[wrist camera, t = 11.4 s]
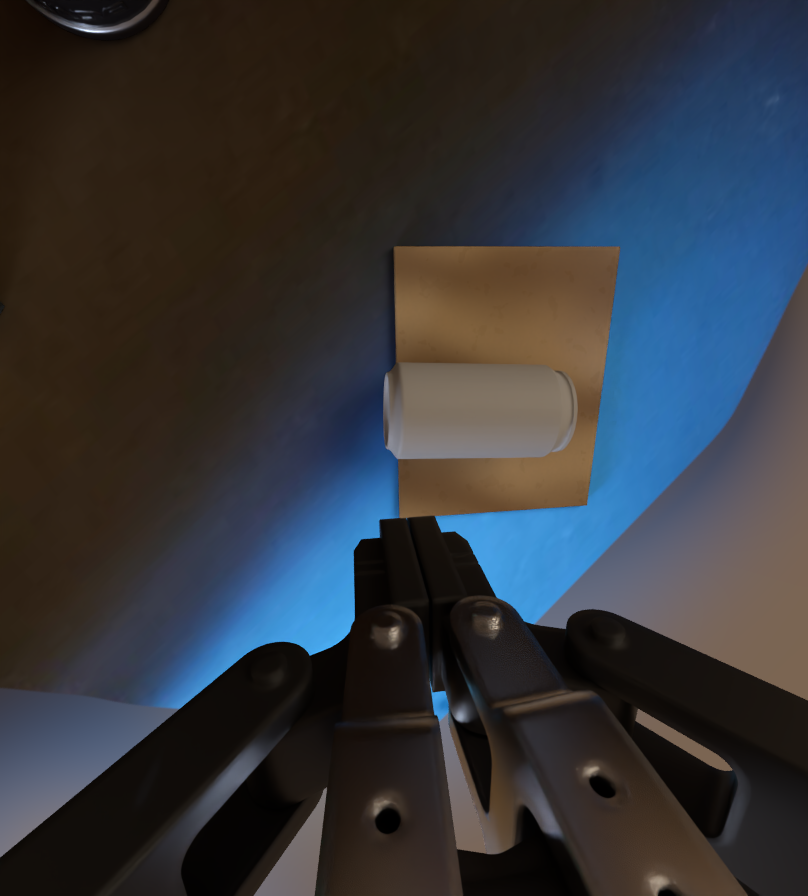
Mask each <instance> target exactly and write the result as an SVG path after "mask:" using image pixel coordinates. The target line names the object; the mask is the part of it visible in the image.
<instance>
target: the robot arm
mask: <svg viewBox="0 0 808 896" xmlns="http://www.w3.org/2000/svg"><path fill="white" fill-rule="evenodd" d="M26 1H27V2H28V3H29V4H30V5H31V6H32V7H33V8H34V9H35V10H37V11H38V12H39V13H40V14H41V15H43V16H44V17H45V18H47V19H48V20H50V21H51V22H53V23H54V24H56V25H57V26H59V27H61V28H63V29H65V30H67V31H69V32H71V33H74V34H76V35H79V36H82V37H86V38H91V39H97V40H117V39H123V38H127V37H130V36H132V35H135V34H137V33H139V32H141V31H142V30H144V29H145V28H147V27H148V26H149V25H151V24H152V23H153V22H154V21H155V20H156V19H157V18H158V16H159V15H160V14H161V13H162V11H163V10H164V8H165V7H166V5H167V3H168V1H169V0H26ZM379 524H380V538H372V539H361V541H360V542H359V544H358V545H357V547H356V548H355V550H354V589H355V621H354V622H353V624H352V626H351V630H350V632H349V633H348V635H347V636H346V637H345V638H344V639H343V640H342V641H340V642H339V643H338V644H336V645H334V646H333V647H331V648H328V649H326V650H324V651H321V652H318V653H316V654H313V655H311V656H309V654H308V652H307V651H306V650H305V649H304V648H302V647H301V646H299V645H297V644H294V643H290V642H274V643H269V644H266V645H263V646H260V647H258V648H256V649H254V650H252V651H250V652H249V653H247V654H246V655H244V656H243V657H242V658H241V659H239V660H238V661H237V662H236V663H235V664H233V665H232V666H231V667H230V668H229V669H227V670H226V671H225V672H224V673H223V674H221V675H220V676H219V677H218V678H217V679H215V680H214V681H213V682H212V683H210V684H209V685H208V686H207V687H206V688H204V689H203V690H202V691H201V692H200V693H198V694H197V695H196V696H195V697H194V698H192V699H191V700H190V701H189V702H188V703H186V704H185V705H184V706H183V707H182V708H180V709H179V710H178V711H177V712H176V713H174V714H173V715H172V716H171V717H170V718H168V719H167V720H166V721H165V722H164V723H162V724H161V725H160V726H159V727H157V728H156V729H155V730H154V731H153V732H151V733H150V734H149V735H148V736H147V737H145V738H144V739H143V740H142V741H141V742H139V743H138V744H137V745H136V746H134V747H133V748H132V749H131V750H130V751H128V752H127V753H126V754H125V755H124V756H122V757H121V758H120V759H119V760H118V761H116V762H115V763H114V764H113V765H111V766H110V767H109V768H108V769H107V770H105V771H104V772H103V773H102V774H101V775H99V776H98V777H97V778H96V779H95V780H93V781H92V782H91V783H90V784H89V785H87V786H86V787H85V788H84V789H82V790H81V791H80V792H79V793H78V794H76V795H75V796H74V797H73V798H72V799H70V800H69V801H68V802H67V803H66V804H65V805H63V806H62V807H61V808H60V809H58V810H57V811H56V812H55V813H54V814H52V815H51V816H50V817H49V818H47V819H46V820H45V821H44V822H43V823H42V824H40V825H39V826H38V827H37V828H35V829H34V830H33V831H32V832H31V833H29V834H28V835H27V836H26V837H25V838H23V839H22V840H21V841H20V842H18V843H17V844H16V845H15V846H14V847H12V848H11V849H10V850H9V851H8V852H6V853H5V854H4V855H3V856H2V857H0V896H254V894H255V893H256V891H257V890H258V888H259V887H260V886H261V884H262V883H263V881H264V880H265V878H266V877H267V876H268V874H269V873H270V871H271V870H272V868H273V867H274V866H275V864H276V863H277V861H278V860H279V858H280V857H281V856H282V854H283V853H284V851H285V850H286V848H287V847H288V846H289V844H290V843H291V841H292V840H293V839H294V837H295V836H296V834H297V833H298V831H299V830H300V828H301V827H302V826H303V824H304V823H305V821H306V820H307V819H308V817H309V816H310V814H311V813H312V811H313V810H314V808H315V807H316V805H317V804H318V802H319V800H320V798H321V796H322V793H323V790H324V789H325V788H326V787H327V794H326V804H325V812H324V821H323V829H322V838H321V846H320V855H319V864H318V872H317V881H316V890H315V896H808V701H807V700H805V699H803V698H801V697H798V696H796V695H794V694H792V693H790V692H788V691H785V690H783V689H781V688H779V687H776V686H774V685H772V684H770V683H768V682H765V681H763V680H761V679H758V678H757V677H754V676H752V675H750V674H748V673H745V672H743V671H741V670H739V669H736V668H734V667H732V666H730V665H728V664H726V663H723V662H721V661H719V660H717V659H714V658H712V657H710V656H708V655H706V654H703V653H701V652H699V651H697V650H694V649H692V648H690V647H688V646H686V645H683V644H681V643H679V642H677V641H674V640H672V639H670V638H668V637H665V636H663V635H661V634H659V633H657V632H655V631H652V630H650V629H648V628H645V627H643V626H641V625H639V624H637V623H635V622H632V621H630V620H628V619H626V618H623V617H621V616H619V615H616V614H614V613H611V612H607V611H602V610H594V609H591V610H590V609H589V610H582V611H578V612H576V613H574V614H573V615H572V616H570V618H569V619H568V621H567V626H566V629H560V628H553V627H546V626H539V625H534V624H530V623H527V622H524V621H523V619H522V618H521V616H520V615H519V613H518V612H517V611H516V610H515V609H514V608H513V607H512V606H511V605H510V604H508V603H507V602H505V601H503V600H501V599H498V598H497V597H496V596H495V594H494V592H493V590H492V588H491V586H490V584H489V582H488V580H487V578H486V576H485V574H484V572H483V570H482V568H481V566H480V565H479V564H478V561H477V559H476V557H475V555H473V551H472V549H471V547H470V545H469V543H468V541H467V540H466V539H464V538H463V537H461V536H460V535H459V534H457V533H456V532H443V533H441V530H440V528H439V526H438V523H437V521H436V518H435V516H434V515H431V516H419V517H408V518H407V519H406V518H394V519H382V520H380V521H379ZM429 678H430V679H429ZM430 683H431V687H432V692H439V691H446V695H447V699H448V703H449V717H448V720H449V728H450V732H451V735H452V738H453V741H454V744H455V747H456V751H457V754H458V756H459V760H460V763H461V766H462V769H463V772H464V775H465V779H466V782H467V785H468V788H469V791H470V794H471V797H472V800H473V803H474V806H475V809H476V813H477V816H478V819H479V822H480V825H481V828H482V833H483V838H484V842H485V849H486V854H484V853H478V852H471V851H464V850H458V849H457V848H456V840H455V834H454V827H453V820H452V811H451V804H450V797H449V790H448V782H447V775H446V769H445V761H444V755H443V754H444V753H443V747H442V739H441V732H440V726H439V720H438V717H437V715H435V716H434V710H433V702H432V695H431V687H430ZM638 709H640V710H642V711H643V712H645V713H647V714H649V715H650V716H652V717H654V718H655V719H657V720H659V721H661V722H663V723H664V724H666V725H668V726H669V727H671V728H673V729H675V730H676V731H678V732H680V733H682V734H683V735H685V736H687V737H688V738H690V739H692V740H694V741H695V742H697V743H699V744H701V745H702V746H704V747H706V748H707V749H709V750H711V751H713V752H714V753H716V754H718V755H719V756H720V757H721V758H723V759H724V760H725V761H726V762H727V763H728V764H729V765H730V767H731V768H732V769H733V770H732V771H722V770H719V769H716V768H714V767H712V766H709V765H708V764H706V763H705V762H703V761H701V760H700V759H698V758H696V757H694V756H693V755H691V754H689V753H688V752H686V751H684V750H683V749H681V748H679V747H678V746H676V745H674V744H673V743H671V742H669V741H668V740H666V739H664V738H663V737H661V736H659V735H658V734H656V733H654V732H653V731H651V730H649V729H648V728H646V727H644V726H642V725H641V724H639V723H638V722H636V721H635V719H636V715H637V710H638Z"/></svg>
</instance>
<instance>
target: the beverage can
mask: <svg viewBox="0 0 808 896" xmlns="http://www.w3.org/2000/svg"><path fill="white" fill-rule="evenodd" d="M577 412H578V404H577V395H576V390H575V387H574V384H573V382H572V380H571V378H570V377H569V375H568V374H567V373H565V372H564V371H554V370H553V369H551V368H550V367H548V366H547V365H530V364H469V363H408V362H399V363H396V364H395V365H394V367H393V368H392V370H391V371H390V372H387V373H386V375H385V382H384V401H383V422H384V441H385V447H386V449H389V450H390V451H391V452H392V453H393V454H394V456H395V457H396V458H397V459H446V458H527V457H544V456H546V455H547V454H549V453H550V452H558V451H561V450H563V449H564V448H565V447H566V446H567V445H568V444H569V442H570V440H571V438H572V436H573V434H574V431H575V427H576V422H577Z"/></svg>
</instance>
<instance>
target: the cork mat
mask: <svg viewBox="0 0 808 896" xmlns="http://www.w3.org/2000/svg"><path fill="white" fill-rule="evenodd" d="M393 249H394V295H395V342H396V363H399V362H408V363H469V364H530V365H547V366H548V367H550V368H551V369H553V370H554V371H564V372H565V373H567V374H568V375H569V377H570V378H571V380H572V382H573V384H574V387H575V390H576V395H577V404H578V412H577V422H576V427H575V431H574V434H573V436H572V438H571V440H570V442H569V444H568V445H567V446H566V447H565V448H564V449H563V450H561V451H558V452H550V453H549V454H547V455H546V456H544V457H527V458H446V459H398V480H399V517H400V518H408V517H419V516H431V515H434V516H441V515H455V514H470V513H484V512H498V511H512V510H526V509H540V508H554V507H568V506H583V505H587V499H588V492H589V484H590V476H591V469H592V461H593V453H594V445H595V438H596V430H597V422H598V415H599V407H600V399H601V391H602V384H603V376H604V368H605V361H606V353H607V345H608V338H609V330H610V322H611V314H612V307H613V299H614V291H615V284H616V276H617V268H618V260H619V253H620V247H520V246H395V247H394V248H393Z"/></svg>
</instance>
